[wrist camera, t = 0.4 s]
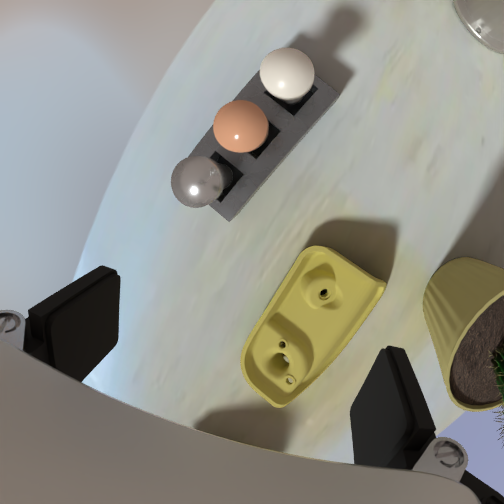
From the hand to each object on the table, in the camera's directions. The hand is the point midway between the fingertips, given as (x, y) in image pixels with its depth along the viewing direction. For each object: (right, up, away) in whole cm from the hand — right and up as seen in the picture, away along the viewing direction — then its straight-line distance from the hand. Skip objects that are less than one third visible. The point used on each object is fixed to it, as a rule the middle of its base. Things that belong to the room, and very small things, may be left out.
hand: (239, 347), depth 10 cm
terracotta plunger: (+1, +16, +22) cm, 27 cm away
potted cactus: (+28, -3, +27) cm, 39 cm away
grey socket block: (+1, +16, +25) cm, 30 cm away
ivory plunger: (+5, +20, +21) cm, 29 cm away
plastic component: (+8, -5, +31) cm, 32 cm away
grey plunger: (-3, +11, +24) cm, 27 cm away
